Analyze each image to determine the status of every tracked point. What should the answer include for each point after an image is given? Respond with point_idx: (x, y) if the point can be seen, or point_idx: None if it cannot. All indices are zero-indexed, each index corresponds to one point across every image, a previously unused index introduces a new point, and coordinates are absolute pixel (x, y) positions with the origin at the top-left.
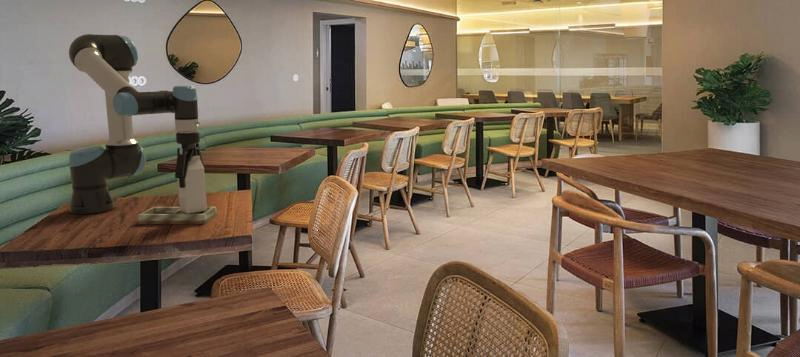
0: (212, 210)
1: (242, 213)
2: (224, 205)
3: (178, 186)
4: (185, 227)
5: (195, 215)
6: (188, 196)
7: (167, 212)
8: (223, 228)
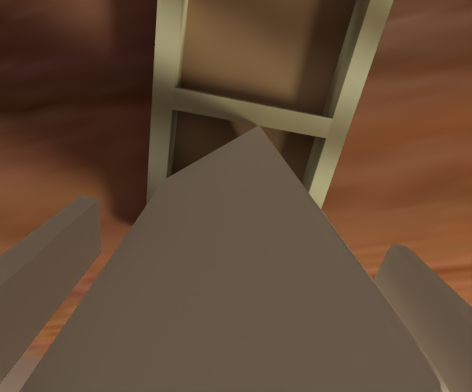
0: None
1: None
2: (459, 255)
3: (272, 171)
4: (100, 169)
5: None
6: (100, 252)
7: (350, 24)
8: None
